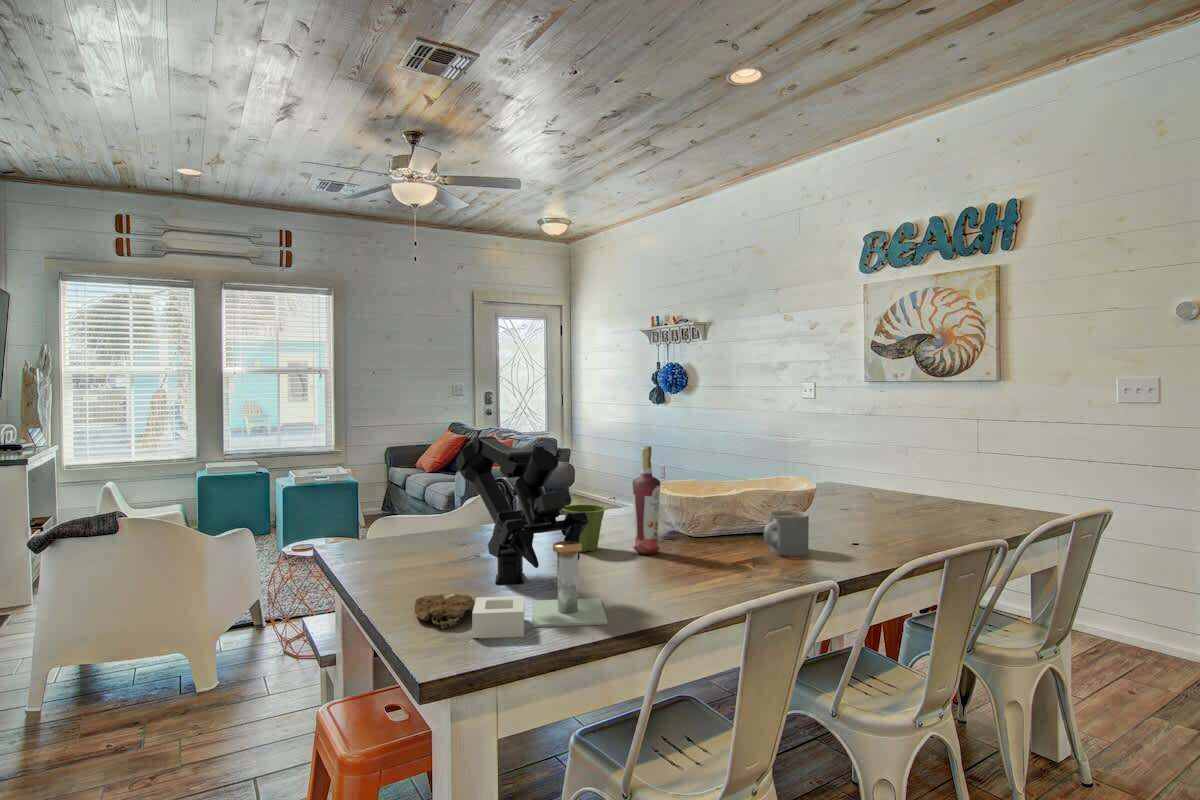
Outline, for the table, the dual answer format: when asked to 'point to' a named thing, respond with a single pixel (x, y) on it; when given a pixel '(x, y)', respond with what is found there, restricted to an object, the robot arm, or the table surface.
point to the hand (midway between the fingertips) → (558, 563)
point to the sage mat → (586, 615)
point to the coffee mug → (787, 533)
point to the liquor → (646, 507)
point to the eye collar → (498, 617)
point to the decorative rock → (443, 608)
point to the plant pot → (592, 529)
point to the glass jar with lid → (567, 575)
